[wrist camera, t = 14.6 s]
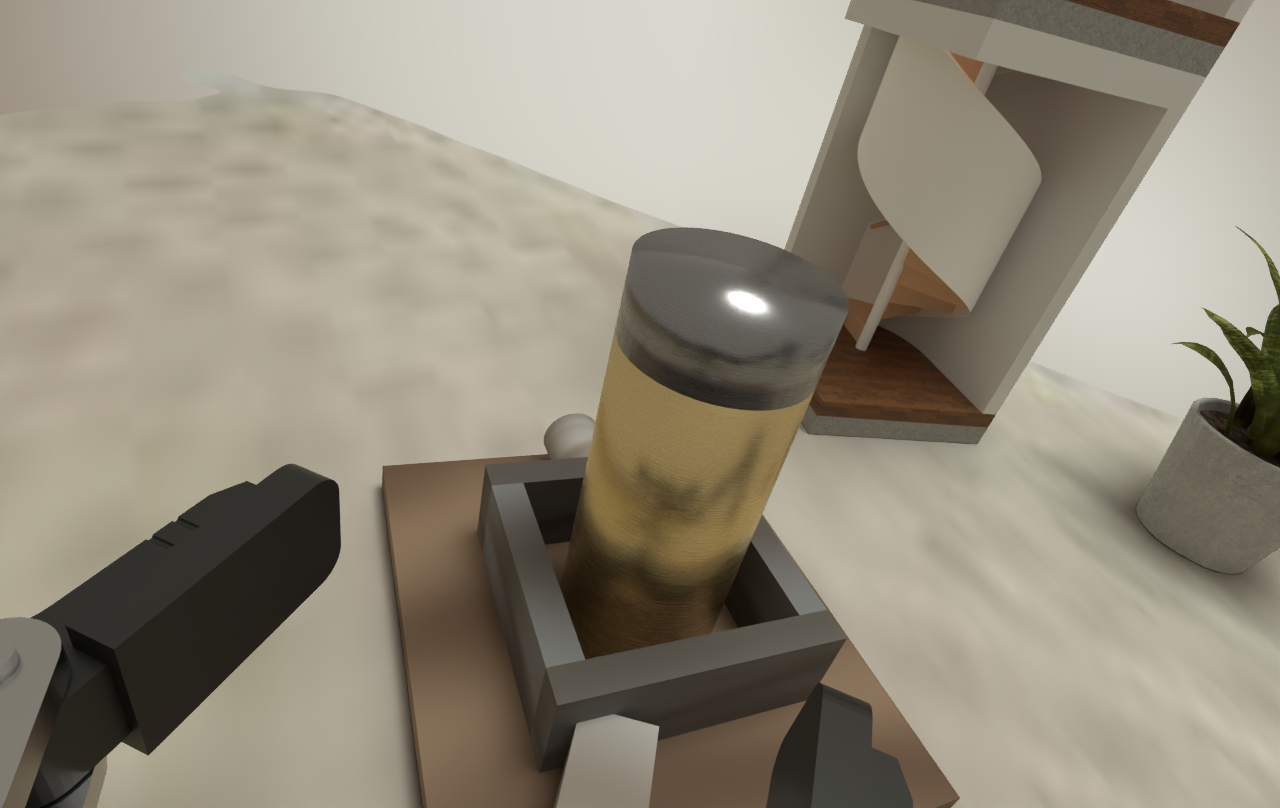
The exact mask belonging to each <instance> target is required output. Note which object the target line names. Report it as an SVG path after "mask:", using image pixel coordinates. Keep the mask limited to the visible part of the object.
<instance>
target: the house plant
mask: <svg viewBox="0 0 1280 808" xmlns="http://www.w3.org/2000/svg"><path fill="white" fill-rule="evenodd" d="M1237 228H1238V227H1237ZM1238 229H1239V228H1238ZM1240 230H1241V229H1240ZM1241 231H1242V230H1241ZM1242 232H1243V233H1245V232H1244V231H1242ZM1245 234H1246V233H1245ZM1246 235H1247V236H1248V237H1249V238H1251V240H1252V241H1254V243H1255V244H1256V245H1257V246H1258V247H1259V248H1260V250H1261V251H1262V253H1263V254H1264V256H1265V258H1266V260H1267V263H1268V267H1269V270H1270V274H1271V277H1272V280H1273V283H1274V286H1275V289H1276V291H1277V295H1278V300H1279V304H1278V305H1277V306H1276V307H1274V308H1273V310H1272V311H1271V313H1270V315H1269V317H1268V320H1267V323H1266V327H1265V333H1262V332H1260V331H1258V330H1256V329H1254V328H1252V327H1247V328H1246V331H1247V336H1245V335H1244V334H1243V333H1242V332H1241V331H1240V330H1238V329H1237V328H1236V327H1235V326H1234V325H1232V324H1231V323H1229V322H1228V321H1227V320H1225V319H1224V318H1222V317H1220V316H1218V315H1216V314H1214V313H1212V312H1211V311H1209V310H1207V309H1204V310H1205V311H1206V313H1207V315H1208V316H1209V317H1210V318H1211V319H1212V320H1213V321H1214V322H1216V324H1218V325H1219V326H1220V327H1221V329H1222V331H1223V333H1224V335H1225V337H1226V338H1227V340H1228V342H1229V343H1230V345H1231V346H1232V347H1233V349H1234V350H1235V351H1236V352H1237V354H1238V355H1239V356H1240V357H1241V359H1242V360H1243V361H1244V363H1245V365H1246V367H1247V368H1248V370H1249V372H1250V379H1251V385H1252V386H1251V387H1250V389H1249V390H1248V392H1247V393H1246V395H1245V396H1244V398H1243V400H1242V401H1241V403H1240V404H1238V403H1235V395H1234V389H1233V381H1232V379H1231V376H1230V375H1229V372H1228V370H1227V368H1226V367H1225V365H1224V363H1223V362H1222V360H1221V359H1220V358H1219V356H1218V355H1217V354H1216V353H1215V352H1214V351H1212V350H1211V349H1209V348H1208V347H1206V346H1203V345H1200V344H1198V343H1190V342H1179V343H1173V344H1183V345H1185V346H1187V347H1189V348H1191V349H1193V350H1195V351H1197V352H1198V353H1200V354H1201V355H1203V356H1204V357H1206V358H1207V359H1208V360H1209V361H1211V362H1212V363H1213V364H1214V365H1216V366H1217V368H1219V370H1220V371H1221V372H1222V374H1223V376H1224V377H1225V379H1226V381H1227V383H1228V385H1229V387H1230V396H1231V401H1227V400H1222V399H1217V398H1201V399H1198V400H1196V401H1194V402H1193V404H1192V406H1191V408H1190V409H1189V411H1188V413H1187V415H1186V417H1185V419H1184V420H1183V422H1182V424H1181V426H1180V428H1179V430H1178V431H1177V433H1176V435H1175V437H1174V439H1173V441H1172V442H1171V444H1170V446H1169V448H1168V450H1167V452H1166V453H1165V455H1164V457H1163V459H1162V461H1161V463H1160V464H1159V466H1158V468H1157V470H1156V472H1155V474H1154V475H1153V477H1152V479H1151V481H1150V483H1149V485H1148V486H1147V488H1146V490H1145V492H1144V494H1143V496H1142V497H1141V499H1140V501H1139V503H1138V505H1137V507H1136V512H1137V516H1138V517H1139V519H1140V521H1141V522H1142V524H1143V525H1144V526H1145V527H1146V528H1147V530H1148V531H1149V532H1150V533H1151V534H1152V535H1153V536H1155V537H1156V538H1157V539H1158V540H1159V541H1160V542H1162V543H1163V544H1164V545H1166V546H1168V547H1169V548H1171V549H1172V550H1174V551H1175V552H1177V553H1179V554H1181V555H1182V556H1184V557H1186V558H1188V559H1189V560H1191V561H1193V562H1195V563H1197V564H1199V565H1201V566H1203V567H1205V568H1208V569H1211V570H1214V571H1217V572H1221V573H1227V574H1238V573H1242V572H1243V571H1245V570H1246V569H1248V568H1249V567H1251V566H1252V565H1254V564H1256V563H1257V562H1259V561H1260V560H1262V559H1263V558H1265V557H1266V556H1268V555H1269V554H1271V553H1272V552H1274V551H1276V550H1277V549H1279V548H1280V277H1279V274H1278V271H1277V269H1276V267H1275V265H1274V263H1273V262H1272V260H1271V258H1270V257H1269V256H1268V254H1267V253H1266V252H1265V250H1264V249H1263V248H1262V247H1261V246H1260V245H1259V244H1258V243H1257V242H1256V241H1255V240H1254V239H1253V238H1252V237H1250V236H1249V235H1248V234H1246ZM1255 334H1261V335H1262V336H1263V337H1264V338H1263V343H1262V348H1261V351H1260V350H1259V349H1258V348H1257V347H1256V346H1255V345H1254V344H1253V343H1252V341H1250V340H1249V339H1248V337H1249V336H1251V335H1255Z"/></svg>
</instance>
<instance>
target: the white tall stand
mask: <svg viewBox="0 0 1280 808" xmlns="http://www.w3.org/2000/svg"><path fill="white" fill-rule="evenodd" d="M1253 1H1254V0H851V2H850V5H849V8H848V11H847V13H846V16H845V19H848V20H851V21H855V22H858V23H861V24H864V27H863V30H862V32H861V35H860V38H859V41H858V44H857V47H856V50H855V52H854V55H853V58H852V61H851V63H850V66H849V69H848V72H847V75H846V78H845V80H844V83H843V86H842V89H841V92H840V95H839V97H838V100H837V103H836V106H835V109H834V112H833V114H832V117H831V120H830V123H829V126H828V128H827V131H826V134H825V137H824V139H823V142H822V146H821V148H820V151H819V154H818V157H817V159H816V162H815V165H814V168H813V171H812V173H811V176H810V179H809V182H808V185H807V187H806V190H805V193H804V196H803V199H802V201H801V205H800V207H799V210H798V213H797V216H796V218H795V221H794V224H793V227H792V230H791V232H790V235H789V238H788V241H787V244H786V247H785V249H784V250H786V251H788V252H790V253H793V254H795V255H797V256H799V257H801V258H803V259H804V260H806V261H808V262H810V263H812V264H813V265H815V266H816V267H818V268H820V269H821V270H822V271H824V272H825V273H826V274H828V275H829V276H830V277H831V278H833V279H834V280H835V281H836V282H837V283H838V284H839V285H840V286H841V288H842V289H843V290H844V292H845V293H846V295H847V298H848V300H849V311H848V313H847V316H846V318H845V320H844V323H843V325H842V328H841V330H840V332H839V335H838V337H837V339H836V342H835V344H834V346H833V349H832V351H831V353H830V356H829V358H828V360H827V363H826V365H825V367H824V370H823V372H822V375H821V377H820V379H819V382H818V384H817V386H816V389H815V391H814V393H813V396H812V398H811V400H810V403H809V405H808V407H807V410H806V412H805V414H804V417H803V419H802V424H803V425H804V427H805V428H806V430H807V432H808V433H809V434H821V435H837V436H854V437H870V438H887V439H903V440H920V441H936V442H953V443H969V444H978V442H979V441H980V439H981V438H982V436H983V434H984V433H985V431H986V430H987V428H988V426H989V425H990V423H991V422H992V420H993V418H994V417H995V415H996V414H997V412H998V410H999V409H1000V407H1001V406H1002V404H1003V402H1004V401H1005V399H1006V397H1007V396H1008V394H1009V393H1010V391H1011V389H1012V388H1013V386H1014V385H1015V383H1016V381H1017V380H1018V378H1019V377H1020V375H1021V373H1022V372H1023V370H1024V369H1025V367H1026V365H1027V364H1028V362H1029V361H1030V359H1031V357H1032V356H1033V354H1034V353H1035V351H1036V349H1037V348H1038V346H1039V345H1040V343H1041V341H1042V340H1043V338H1044V337H1045V335H1046V333H1047V332H1048V330H1049V329H1050V327H1051V325H1052V324H1053V322H1054V321H1055V319H1056V317H1057V316H1058V314H1059V312H1060V311H1061V309H1062V308H1063V306H1064V305H1065V303H1066V301H1067V300H1068V298H1069V297H1070V295H1071V293H1072V292H1073V290H1074V288H1075V287H1076V285H1077V284H1078V282H1079V280H1080V279H1081V277H1082V276H1083V274H1084V272H1085V271H1086V269H1087V268H1088V266H1089V264H1090V263H1091V261H1092V260H1093V258H1094V256H1095V255H1096V253H1097V252H1098V250H1099V248H1100V247H1101V245H1102V244H1103V242H1104V240H1105V239H1106V237H1107V235H1108V234H1109V232H1110V231H1111V229H1112V228H1113V226H1114V224H1115V223H1116V221H1117V220H1118V218H1119V216H1120V215H1121V213H1122V211H1123V210H1124V208H1125V206H1126V205H1127V204H1128V202H1129V200H1130V199H1131V197H1132V195H1133V194H1134V192H1135V191H1136V189H1137V187H1138V186H1139V184H1140V183H1141V181H1142V179H1143V177H1144V176H1145V175H1146V173H1147V171H1148V170H1149V168H1150V167H1151V165H1152V163H1153V162H1154V160H1155V158H1156V157H1157V155H1158V154H1159V152H1160V151H1161V149H1162V147H1163V146H1164V144H1165V143H1166V141H1167V139H1168V138H1169V136H1170V135H1171V133H1172V131H1173V130H1174V128H1175V126H1176V125H1177V123H1178V122H1179V120H1180V119H1181V117H1182V115H1183V114H1184V112H1185V111H1186V109H1187V107H1188V106H1189V104H1190V103H1191V101H1192V99H1193V98H1194V96H1195V95H1196V93H1197V91H1198V90H1199V88H1200V87H1201V85H1202V83H1203V82H1204V80H1205V78H1206V77H1207V75H1208V74H1209V72H1210V70H1211V69H1212V67H1213V66H1214V64H1215V62H1216V60H1217V59H1218V58H1219V56H1220V54H1221V53H1222V51H1223V50H1224V48H1225V46H1226V45H1227V43H1228V42H1229V40H1230V38H1231V37H1232V35H1233V34H1234V32H1235V30H1236V29H1237V27H1238V26H1239V24H1240V22H1241V21H1242V19H1243V17H1244V16H1245V14H1246V13H1247V11H1248V9H1249V8H1250V6H1251V5H1252V3H1253Z"/></svg>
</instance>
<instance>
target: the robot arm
mask: <svg viewBox="0 0 1280 808" xmlns="http://www.w3.org/2000/svg"><path fill="white" fill-rule="evenodd" d="M340 549H341V535H340V503H339V487H338V484H337V483H336V482H335V481H334V480H331V479H329V478H327V477H324V476H322V475H320V474H317V473H315V472H312V471H310V470H308V469H305V468H303V467H301V466H298V465H295V464H287V465H285V466H282V467H281V468H279V469H277V470H276V471H275V472H273V473H272V474H271V475H269V476H268V477H267V478H265V479H264V480H262V481H261V482H260V483H258V484H257V485H255V484H253V483H250V482H248V481H246V482H243V483H241V484H238V485H235V486H233V487H230V488H227V489H225V490H222V491H219V492H217V493H214V494H211V495H209V496H207V497H206V498H205V499H203V500H202V501H200V502H199V503H197V504H196V505H195V506H193V507H192V508H190V509H189V510H187V511H186V512H185V513H183V514H182V515H180V516H179V517H178V520H177V521H176V522H173V521H172V522H170V523H169V524H167V525H166V526H164V527H163V528H162V529H160V530H159V531H157V532H156V533H154V534H153V536H152V538H151V539H150V540H144V541H143V542H142V543H140V544H139V545H137V546H136V547H134V548H133V549H132V550H130V551H129V552H127V553H126V554H124V555H123V556H122V557H120V558H119V559H117V560H116V561H114V562H113V563H111V564H110V565H109V566H107V567H106V568H104V569H103V570H101V571H100V572H99V573H97V574H96V575H94V576H93V577H91V578H90V579H89V580H87V581H86V582H84V583H83V584H81V585H80V586H79V587H77V588H76V589H74V590H73V591H71V592H70V593H68V594H67V595H66V596H64V597H63V598H61V599H60V600H58V601H57V602H56V603H54V604H53V605H51V606H50V607H48V608H47V609H45V610H44V611H42V612H40V613H39V614H37V615H35V616H33V617H31V618H22V617H18V618H5V619H0V808H97V804H98V801H99V797H100V793H101V790H102V786H103V782H104V779H105V775H106V770H107V758H106V756H107V755H108V754H109V753H110V752H111V751H112V750H113V749H114V748H115V747H116V746H117V745H118V744H119V743H120V742H123V743H125V744H127V745H129V746H131V747H133V748H135V749H137V750H139V751H141V752H143V753H144V754H146V755H149V754H150V753H151V752H152V751H153V750H154V749H155V748H156V747H158V746H159V745H160V744H161V743H162V742H163V741H164V740H165V739H166V738H167V737H168V736H169V735H170V734H171V733H172V732H173V731H174V730H175V729H176V728H177V727H178V726H179V725H180V724H181V723H182V722H183V721H184V720H185V719H186V718H187V717H188V716H189V715H190V714H191V713H192V712H193V711H194V710H195V709H196V708H197V707H198V706H199V705H200V704H201V703H202V702H203V701H204V700H205V699H206V698H207V697H208V696H209V695H210V694H211V693H212V692H213V691H214V690H215V689H216V688H217V687H218V686H219V685H220V684H221V683H222V682H223V681H224V680H225V679H226V678H227V677H228V676H229V675H230V674H231V673H232V672H233V671H234V670H235V669H236V668H237V667H238V666H239V665H240V664H241V663H242V662H243V661H244V660H245V659H246V658H247V657H248V656H249V655H250V654H251V653H252V652H253V651H254V650H255V649H256V648H258V647H259V646H260V645H261V644H262V643H263V642H264V641H265V640H266V639H267V638H268V637H269V636H270V635H271V634H272V633H273V632H274V631H275V630H276V629H277V628H278V627H279V626H280V625H281V624H282V623H283V622H284V621H285V620H286V619H287V618H288V617H289V616H290V615H291V614H292V613H293V612H294V611H295V610H296V609H297V608H298V607H299V606H300V605H301V604H302V603H303V602H304V601H305V600H306V599H307V598H308V597H309V596H310V595H311V594H312V593H313V592H314V591H315V590H316V589H317V588H318V587H319V586H320V585H321V584H322V583H323V582H324V581H325V580H326V578H327V577H328V576H329V574H330V573H331V571H332V570H333V568H334V566H335V564H336V562H337V559H338V557H339V553H340ZM872 723H873V713H872V708H871V705H870V704H869V703H867V702H865V701H863V700H860V699H858V698H856V697H853V696H851V695H848V694H846V693H844V692H841V691H839V690H837V689H834V688H832V687H829V686H827V685H825V684H822V683H818V684H817V685H816V686H815V687H814V689H813V690H812V692H811V694H810V695H809V697H808V699H807V700H806V702H805V704H804V705H803V707H802V709H801V710H800V712H799V714H798V715H797V717H796V719H795V720H794V722H793V724H792V726H791V727H790V729H789V731H788V732H787V734H786V736H785V737H784V739H783V741H782V743H781V746H780V748H779V751H778V754H777V757H776V760H775V763H774V767H773V771H772V775H771V781H770V786H769V793H768V799H767V805H766V808H913V799H912V796H911V794H910V791H909V788H908V786H907V783H906V780H905V778H904V775H903V772H902V770H901V767H900V764H899V761H898V759H897V758H896V757H893V756H891V755H889V754H886V753H884V752H882V751H879V750H877V749H875V748H872Z"/></svg>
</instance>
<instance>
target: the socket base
mask: <svg viewBox="0 0 1280 808" xmlns="http://www.w3.org/2000/svg"><path fill="white" fill-rule="evenodd" d="M594 427H595V422H594V420H593V419H592V418H591V417H589V416H587V415H584V414H569V415H566V416H563V417H561V418H559V419H557V420H556V421H555V422H553V423H552V424H551V425H550V426H549V428H548V429H547V431H546V433H545V436H544V445H545V448H546V450H547V453H548V454H545V455H531V456H517V457H503V458H489V459H475V460H461V461H447V462H433V463H419V464H405V465H391V466H383V477H382V487H383V495H384V503H385V511H386V519H387V527H388V535H389V543H390V551H391V559H392V567H393V575H394V583H395V591H396V599H397V607H398V615H399V623H400V631H401V639H402V647H403V655H404V663H405V671H406V679H407V687H408V695H409V703H410V710H411V718H412V726H413V734H414V742H415V750H416V758H417V766H418V774H419V782H420V790H421V798H422V806H423V808H766V805H767V799H768V793H769V786H770V781H771V775H772V771H773V767H774V763H775V760H776V757H777V754H778V751H779V748H780V746H781V743H782V741H783V739H784V737H785V736H786V734H787V732H788V731H789V729H790V727H791V726H792V724H793V722H794V720H795V719H796V717H797V715H798V714H799V712H800V710H801V709H802V707H803V705H804V704H805V702H806V700H807V699H808V697H809V695H810V694H811V692H812V690H813V689H814V687H815V686H816V685H817V684H818V683H822V684H825V685H827V686H829V687H832V688H834V689H837V690H839V691H841V692H844V693H846V694H848V695H851V696H853V697H856V698H858V699H860V700H863V701H865V702H867V703H869V704H870V705H871V708H872V713H873V723H872V748H875V749H877V750H879V751H882V752H884V753H886V754H889V755H891V756H893V757H896V758H897V759H898V761H899V764H900V767H901V770H902V772H903V775H904V778H905V780H906V783H907V786H908V788H909V791H910V794H911V796H912V799H913V808H951V807H952V806H953V805H954V804H955V803H956V802H957V801H958V799H959V798H960V797H959V796H958V794H957V793H956V791H955V790H954V789H953V787H952V786H951V784H950V783H949V781H948V780H947V779H946V777H945V776H944V774H943V773H942V771H941V770H940V769H939V767H938V766H937V764H936V763H935V761H934V760H933V758H932V757H931V756H930V754H929V753H928V751H927V750H926V748H925V747H924V746H923V744H922V743H921V741H920V740H919V738H918V737H917V736H916V734H915V733H914V731H913V730H912V728H911V727H910V725H909V724H908V723H907V721H906V720H905V718H904V717H903V715H902V714H901V713H900V711H899V710H898V708H897V707H896V705H895V704H894V702H893V701H892V700H891V698H890V697H889V695H888V694H887V692H886V691H885V690H884V688H883V687H882V685H881V684H880V682H879V681H878V680H877V678H876V677H875V675H874V674H873V672H872V671H871V669H870V668H869V667H868V665H867V664H866V662H865V661H864V659H863V658H862V657H861V655H860V654H859V652H858V651H857V649H856V648H855V646H854V645H853V644H852V642H851V641H850V639H849V638H848V636H847V635H846V634H845V632H844V631H843V629H842V628H841V626H840V625H839V624H838V622H837V621H836V619H835V618H834V616H833V615H832V613H831V612H830V611H829V609H828V608H827V606H826V605H825V603H824V602H823V601H822V599H821V598H820V596H819V595H818V593H817V592H816V590H815V589H814V588H813V586H812V585H811V583H810V582H809V580H808V579H807V578H806V576H805V575H804V573H803V572H802V570H801V569H800V568H799V566H798V565H797V563H796V562H795V560H794V559H793V557H792V556H791V555H790V553H789V552H788V550H787V549H786V547H785V546H784V545H783V543H782V542H781V540H780V539H779V537H778V536H777V534H776V533H775V532H774V530H773V529H772V527H771V526H770V524H769V523H768V522H767V520H766V519H765V517H764V516H763V514H762V516H761V518H760V520H759V523H758V525H757V527H756V530H755V532H754V534H753V537H752V539H751V541H750V544H749V546H748V548H747V551H746V553H745V556H744V558H743V560H742V563H741V565H740V567H739V570H738V572H737V574H736V577H735V579H734V581H733V584H732V586H731V588H730V591H729V593H728V595H727V598H726V600H725V603H724V605H723V607H722V610H721V612H720V614H719V617H718V619H717V621H716V624H715V626H714V628H713V631H712V633H711V634H707V635H702V636H697V637H692V638H688V639H683V640H678V641H673V642H668V643H663V644H659V645H654V646H649V647H644V648H639V649H634V650H630V651H625V652H620V653H615V654H610V655H605V656H600V657H596V658H591V659H586V660H585V657H584V655H583V652H582V649H581V646H580V643H579V640H578V638H577V635H576V632H575V629H574V626H573V623H572V620H571V618H570V615H569V612H568V609H567V606H566V603H565V600H564V598H563V595H562V592H561V589H560V586H561V582H562V577H563V572H564V568H565V563H566V558H567V554H568V549H569V544H570V539H571V535H572V530H573V525H574V521H575V516H576V511H577V507H578V502H579V497H580V492H581V488H582V483H583V478H584V474H585V469H586V464H587V460H588V455H589V450H590V446H591V441H592V436H593V431H594Z"/></svg>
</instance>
